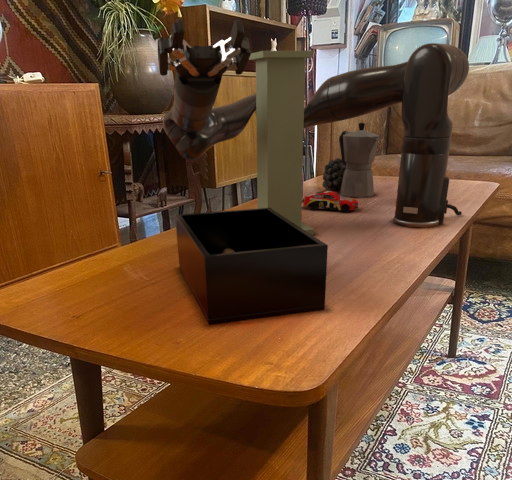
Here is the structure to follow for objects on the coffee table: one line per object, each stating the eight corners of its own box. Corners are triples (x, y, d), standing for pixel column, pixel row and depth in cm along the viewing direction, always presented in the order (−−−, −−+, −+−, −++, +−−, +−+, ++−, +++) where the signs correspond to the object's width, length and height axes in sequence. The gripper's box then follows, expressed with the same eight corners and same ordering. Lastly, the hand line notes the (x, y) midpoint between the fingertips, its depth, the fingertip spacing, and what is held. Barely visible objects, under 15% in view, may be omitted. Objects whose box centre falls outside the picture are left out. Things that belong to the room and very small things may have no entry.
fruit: (335, 160, 134) (352, 152, 146) (307, 169, 139) (325, 161, 151) (344, 193, 137) (359, 182, 149) (315, 200, 141) (333, 190, 153)
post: (245, 226, 109) (242, 54, 95) (294, 222, 112) (298, 54, 98) (261, 240, 100) (259, 50, 86) (314, 235, 102) (320, 50, 88)
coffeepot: (386, 196, 136) (393, 123, 128) (357, 200, 132) (363, 124, 125) (350, 188, 149) (355, 120, 141) (323, 191, 145) (326, 121, 137)
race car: (360, 209, 123) (362, 192, 122) (354, 214, 119) (355, 196, 117) (309, 204, 129) (309, 188, 127) (301, 209, 124) (301, 192, 123)
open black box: (179, 268, 85) (175, 214, 81) (270, 259, 88) (270, 207, 85) (208, 325, 64) (204, 257, 60) (324, 310, 68) (328, 245, 64)
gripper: (238, 107, 92) (261, 49, 76) (158, 109, 88) (164, 49, 73) (232, 67, 92) (253, 1, 77) (152, 67, 89) (156, -1, 73)
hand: (210, 24), depth 75 cm, fingers open, 8 cm apart
